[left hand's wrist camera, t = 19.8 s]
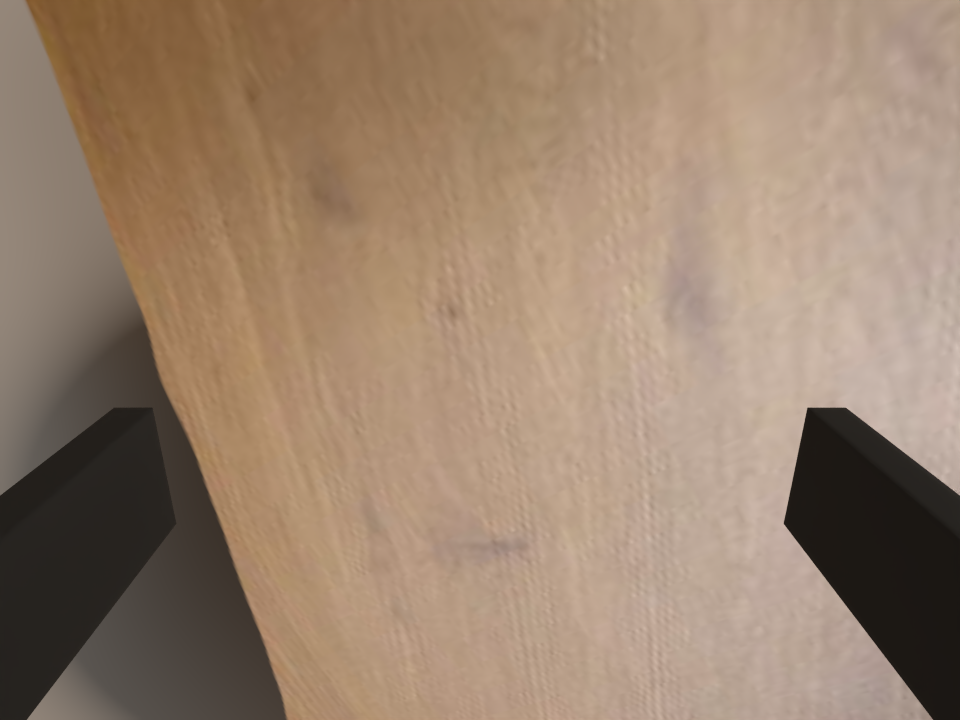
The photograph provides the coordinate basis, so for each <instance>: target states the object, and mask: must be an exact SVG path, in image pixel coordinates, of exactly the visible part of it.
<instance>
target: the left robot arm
mask: <svg viewBox="0 0 960 720" xmlns="http://www.w3.org/2000/svg"><path fill="white" fill-rule="evenodd" d="M175 525H176V520H175V515H174V511H173V506H172V501H171V496H170V491H169V486H168V481H167V476H166V472H165V467H164V462H163V457H162V452H161V447H160V442H159V437H158V433H157V428H156V423H155V418H154V413H153V408H113V409H112V410H111V411H109V412H108V413H107V414H106V415H104V416H103V417H102V418H100V419H99V420H98V421H96V422H95V423H94V424H93V425H91V426H90V427H89V428H87V429H86V430H85V431H84V432H82V433H81V434H80V435H78V436H77V437H76V438H74V439H73V440H72V441H71V442H69V443H68V444H67V445H65V446H64V447H63V448H61V449H60V450H59V451H58V452H56V453H55V454H54V455H52V456H51V457H50V458H48V459H47V460H46V461H45V462H43V463H42V464H41V465H39V466H38V467H37V468H36V469H34V470H33V471H32V472H30V473H29V474H28V475H26V476H25V477H24V478H23V479H21V480H20V481H19V482H17V483H16V484H15V485H13V486H12V487H11V488H10V489H8V490H7V491H6V492H4V493H3V494H2V495H1V496H0V720H27V719H28V717H29V716H30V715H31V713H32V712H33V711H34V709H35V708H36V707H37V705H38V704H39V703H40V702H41V700H42V699H43V698H44V696H45V695H46V694H47V692H48V691H49V690H50V688H51V687H52V686H53V684H54V683H55V682H56V681H57V679H58V678H59V677H60V675H61V674H62V673H63V671H64V670H65V669H66V667H67V666H68V665H69V663H70V662H71V661H72V660H73V658H74V657H75V656H76V654H77V653H78V652H79V650H80V649H81V648H82V646H83V645H84V644H85V643H86V641H87V640H88V639H89V637H90V636H91V635H92V633H93V632H94V631H95V629H96V628H97V627H98V626H99V624H100V623H101V622H102V620H103V619H104V618H105V616H106V615H107V614H108V612H109V611H110V610H111V608H112V607H113V606H114V605H115V603H116V602H117V601H118V599H119V598H120V597H121V595H122V594H123V593H124V591H125V590H126V589H127V588H128V586H129V585H130V584H131V582H132V581H133V580H134V578H135V577H136V576H137V574H138V573H139V572H140V570H141V569H142V568H143V567H144V565H145V564H146V563H147V561H148V560H149V559H150V557H151V556H152V555H153V553H154V552H155V551H156V549H157V548H158V547H159V546H160V544H161V543H162V542H163V540H164V539H165V538H166V536H167V535H168V534H169V532H170V531H171V530H172V529H173V527H174V526H175ZM784 525H785V526H786V527H787V529H788V530H789V531H790V532H791V534H792V535H793V536H794V538H795V539H796V540H797V542H798V543H799V544H800V546H801V547H802V548H803V550H804V551H805V552H806V553H807V555H808V556H809V557H810V559H811V560H812V561H813V563H814V564H815V565H816V567H817V568H818V569H819V570H820V572H821V573H822V574H823V576H824V577H825V578H826V580H827V581H828V582H829V584H830V585H831V586H832V588H833V589H834V590H835V591H836V593H837V594H838V595H839V597H840V598H841V599H842V601H843V602H844V603H845V605H846V606H847V607H848V608H849V610H850V611H851V612H852V614H853V615H854V616H855V618H856V619H857V620H858V622H859V623H860V624H861V626H862V627H863V628H864V629H865V631H866V632H867V633H868V635H869V636H870V637H871V639H872V640H873V641H874V643H875V644H876V645H877V647H878V648H879V649H880V650H881V652H882V653H883V654H884V656H885V657H886V658H887V660H888V661H889V662H890V664H891V665H892V666H893V667H894V669H895V670H896V671H897V673H898V674H899V675H900V677H901V678H902V679H903V681H904V682H905V683H906V685H907V686H908V687H909V688H910V690H911V691H912V692H913V694H914V695H915V696H916V698H917V699H918V700H919V702H920V703H921V704H922V705H923V707H924V708H925V709H926V711H927V712H928V713H929V715H930V716H931V717H932V719H933V720H960V495H958V494H957V493H956V492H954V491H953V490H952V489H950V488H949V487H948V486H947V485H945V484H944V483H943V482H941V481H940V480H939V479H937V478H936V477H935V476H934V475H932V474H931V473H930V472H928V471H927V470H926V469H925V468H923V467H922V466H921V465H919V464H918V463H917V462H915V461H914V460H913V459H912V458H910V457H909V456H908V455H906V454H905V453H904V452H902V451H901V450H900V449H899V448H897V447H896V446H895V445H893V444H892V443H891V442H890V441H888V440H887V439H886V438H884V437H883V436H882V435H880V434H879V433H878V432H877V431H875V430H874V429H873V428H871V427H870V426H869V425H867V424H866V423H865V422H864V421H862V420H861V419H860V418H858V417H857V416H856V415H855V414H853V413H852V412H851V411H849V410H848V409H847V408H807V413H806V418H805V423H804V428H803V432H802V437H801V442H800V447H799V452H798V457H797V462H796V467H795V472H794V476H793V481H792V486H791V491H790V496H789V501H788V506H787V511H786V515H785V520H784Z"/></svg>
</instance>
